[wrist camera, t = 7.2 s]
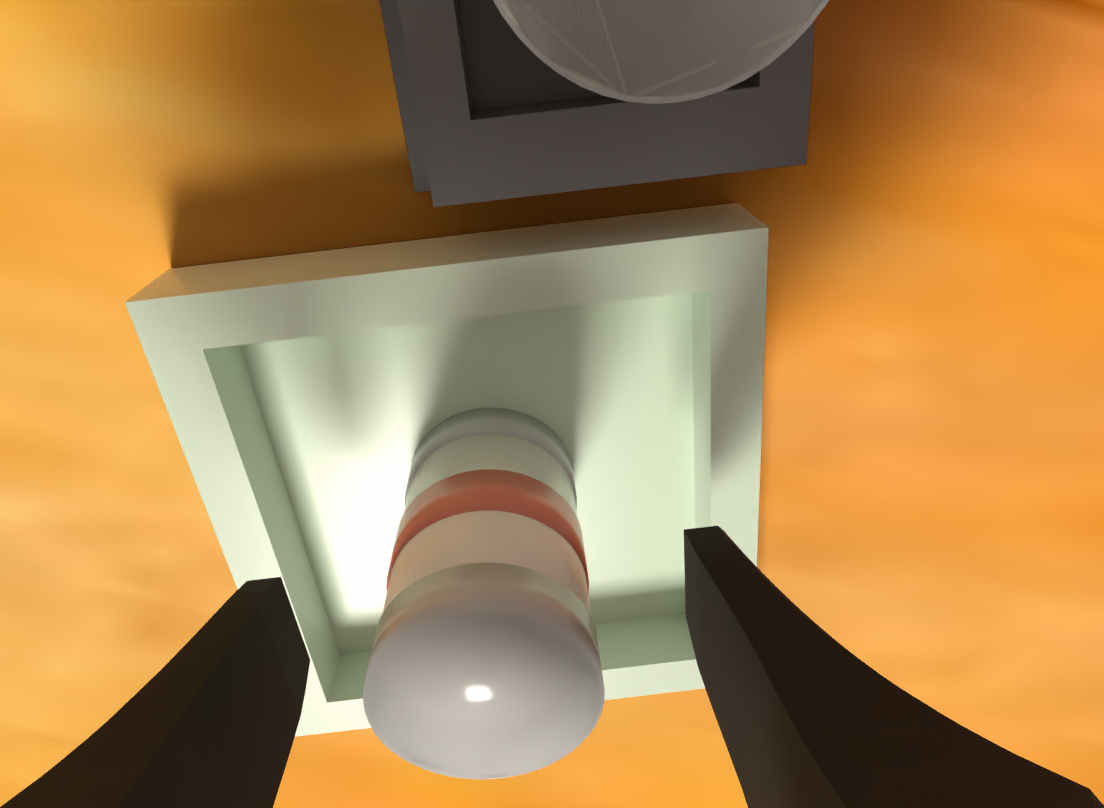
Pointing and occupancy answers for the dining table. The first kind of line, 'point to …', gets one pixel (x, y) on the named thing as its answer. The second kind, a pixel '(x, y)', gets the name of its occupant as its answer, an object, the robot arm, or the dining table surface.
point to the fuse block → (568, 114)
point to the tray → (464, 384)
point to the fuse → (658, 42)
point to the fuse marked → (486, 606)
